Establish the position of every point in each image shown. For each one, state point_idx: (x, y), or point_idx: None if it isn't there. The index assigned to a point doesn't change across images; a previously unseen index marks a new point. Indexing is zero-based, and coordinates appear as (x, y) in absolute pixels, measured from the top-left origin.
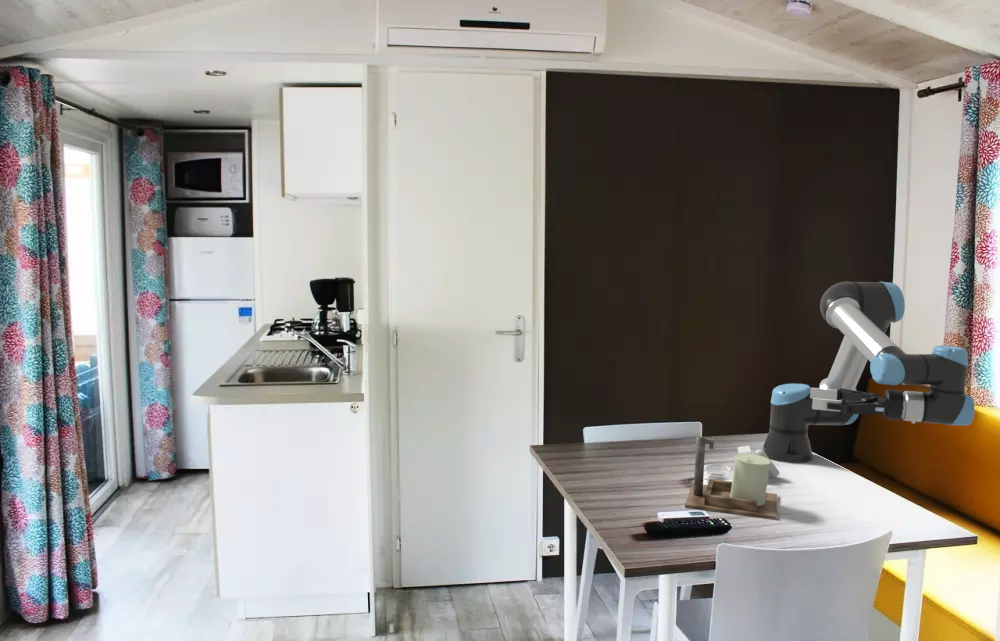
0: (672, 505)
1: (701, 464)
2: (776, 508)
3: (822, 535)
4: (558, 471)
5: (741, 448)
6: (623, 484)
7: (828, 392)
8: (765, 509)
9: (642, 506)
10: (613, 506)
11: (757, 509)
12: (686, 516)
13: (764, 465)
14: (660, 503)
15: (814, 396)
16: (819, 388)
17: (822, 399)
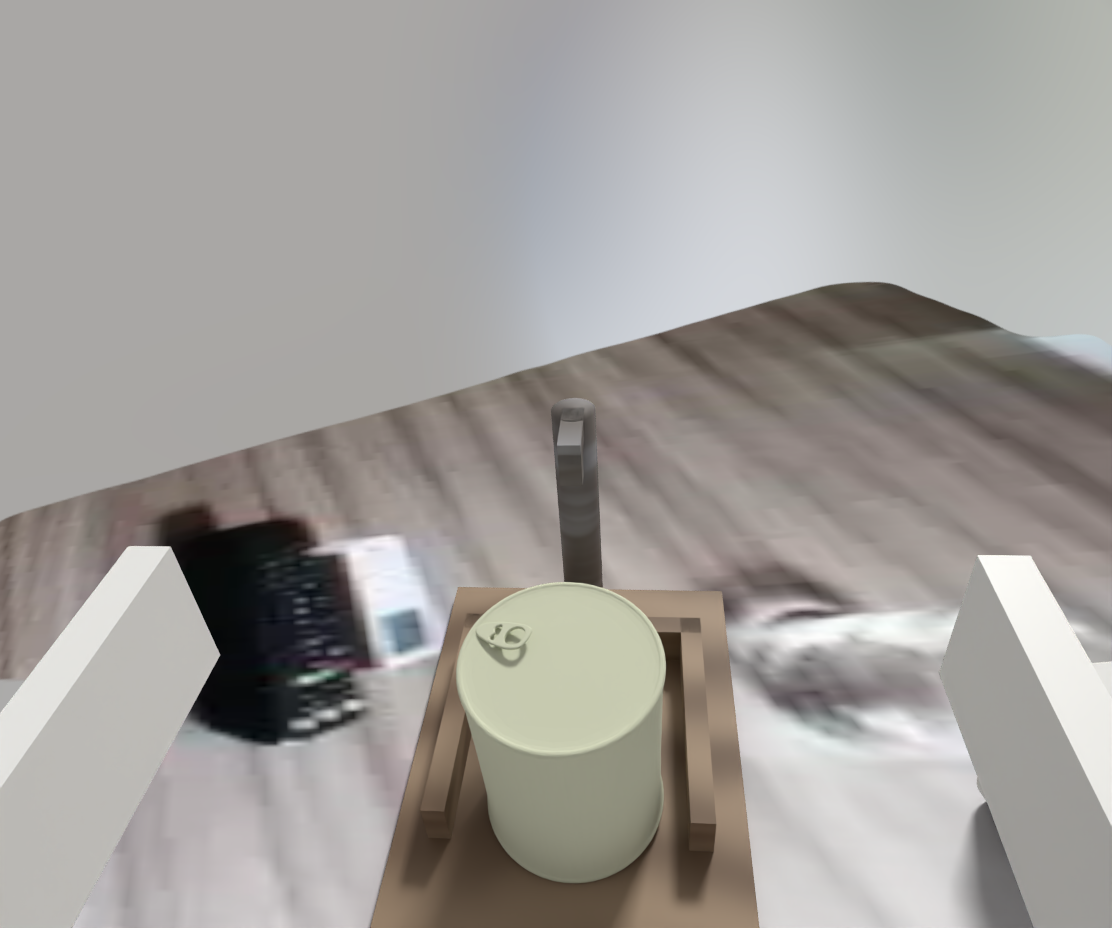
0: (472, 563)
1: (560, 516)
2: None
3: None
4: (675, 334)
5: (1106, 675)
6: (634, 443)
7: (1090, 871)
8: (468, 882)
9: (441, 500)
10: (425, 449)
11: (459, 842)
12: (367, 605)
13: (473, 723)
14: (483, 534)
15: (963, 701)
16: (1079, 668)
17: (54, 647)
